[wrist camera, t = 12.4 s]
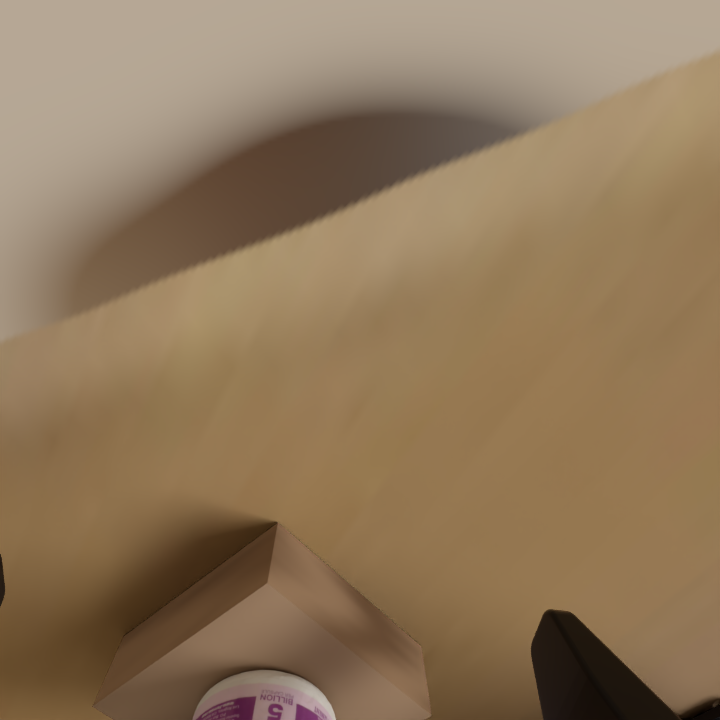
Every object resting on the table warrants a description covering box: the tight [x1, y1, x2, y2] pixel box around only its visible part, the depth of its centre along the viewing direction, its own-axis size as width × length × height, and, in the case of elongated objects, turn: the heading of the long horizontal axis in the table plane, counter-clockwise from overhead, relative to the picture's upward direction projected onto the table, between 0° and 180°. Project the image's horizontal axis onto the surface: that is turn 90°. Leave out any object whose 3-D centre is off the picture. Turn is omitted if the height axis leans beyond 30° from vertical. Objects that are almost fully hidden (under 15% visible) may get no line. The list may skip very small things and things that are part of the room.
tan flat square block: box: [92, 523, 432, 720], centre depth 21 cm, size 9×9×3 cm
